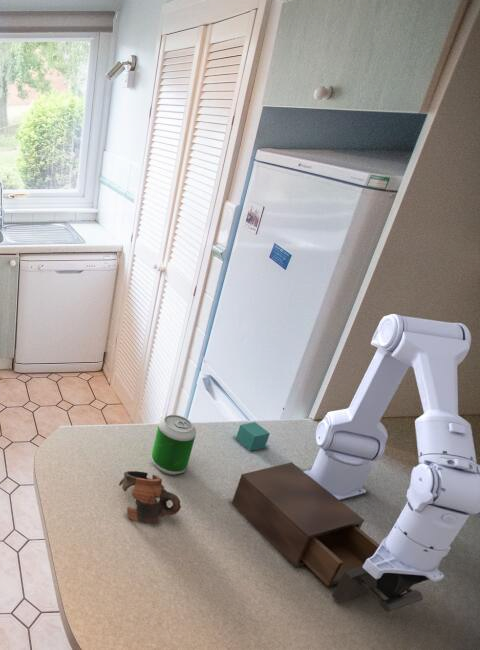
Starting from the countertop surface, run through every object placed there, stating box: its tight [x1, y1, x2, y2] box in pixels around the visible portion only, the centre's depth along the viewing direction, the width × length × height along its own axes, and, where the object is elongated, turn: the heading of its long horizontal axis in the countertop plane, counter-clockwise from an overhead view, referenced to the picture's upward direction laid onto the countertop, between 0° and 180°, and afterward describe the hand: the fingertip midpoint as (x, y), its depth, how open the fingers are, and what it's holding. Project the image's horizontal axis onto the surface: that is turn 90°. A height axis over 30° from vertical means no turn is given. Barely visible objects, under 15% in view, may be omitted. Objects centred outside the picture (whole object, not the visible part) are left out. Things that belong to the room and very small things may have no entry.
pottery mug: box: [118, 470, 182, 524], centre depth 91 cm, size 12×10×8 cm
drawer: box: [301, 525, 424, 613], centre depth 78 cm, size 18×11×6 cm, turn 15°
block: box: [235, 421, 271, 452], centre depth 109 cm, size 4×4×4 cm
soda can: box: [151, 414, 197, 476], centre depth 101 cm, size 8×8×12 cm
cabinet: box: [231, 462, 365, 568], centre depth 87 cm, size 15×13×8 cm
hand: (385, 592), depth 72 cm, fingers closed, pressing on drawer
